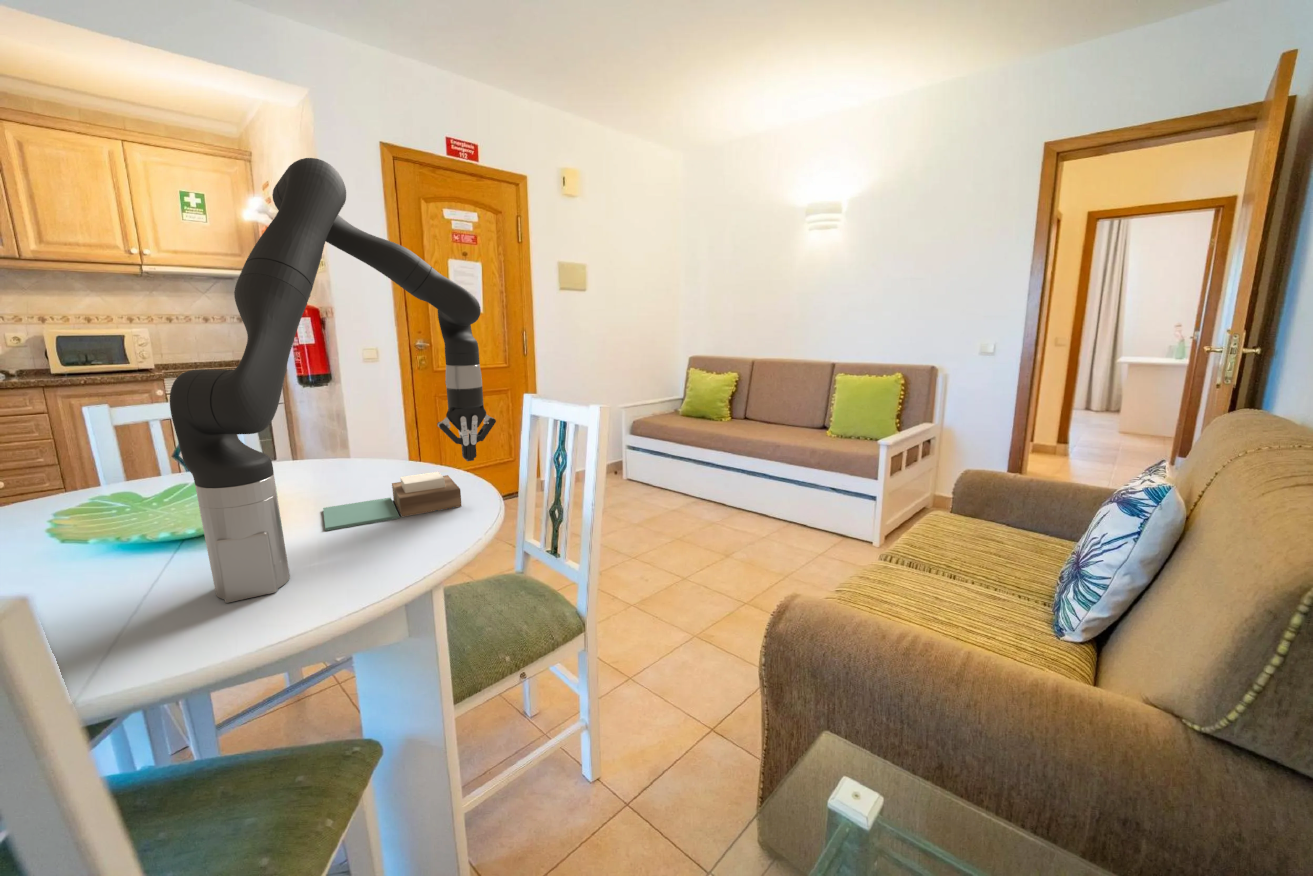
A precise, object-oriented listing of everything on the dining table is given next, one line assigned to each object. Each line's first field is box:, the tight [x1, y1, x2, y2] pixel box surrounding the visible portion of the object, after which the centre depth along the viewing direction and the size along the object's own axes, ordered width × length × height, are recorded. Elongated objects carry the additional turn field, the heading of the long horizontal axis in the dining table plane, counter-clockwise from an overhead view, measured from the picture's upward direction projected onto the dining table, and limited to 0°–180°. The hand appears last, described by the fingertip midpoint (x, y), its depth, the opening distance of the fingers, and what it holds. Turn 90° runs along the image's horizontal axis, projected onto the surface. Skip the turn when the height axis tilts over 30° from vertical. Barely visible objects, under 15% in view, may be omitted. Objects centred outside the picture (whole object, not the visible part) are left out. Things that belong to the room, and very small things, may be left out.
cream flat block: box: [399, 471, 445, 493], centre depth 117 cm, size 6×8×2 cm
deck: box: [391, 474, 462, 518], centre depth 118 cm, size 12×12×4 cm
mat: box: [322, 496, 400, 532], centre depth 112 cm, size 13×13×1 cm
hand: (469, 460), depth 122 cm, fingers closed
